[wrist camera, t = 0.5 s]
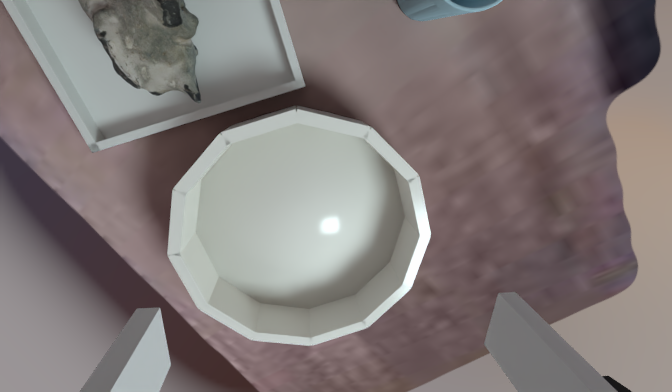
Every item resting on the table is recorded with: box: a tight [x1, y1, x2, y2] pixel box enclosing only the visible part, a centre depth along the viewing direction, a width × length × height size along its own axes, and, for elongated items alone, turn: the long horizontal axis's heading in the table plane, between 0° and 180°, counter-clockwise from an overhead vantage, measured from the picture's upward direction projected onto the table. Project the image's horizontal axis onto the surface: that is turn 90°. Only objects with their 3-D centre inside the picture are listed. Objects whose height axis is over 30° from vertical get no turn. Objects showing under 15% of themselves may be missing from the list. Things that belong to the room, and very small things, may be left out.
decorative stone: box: [78, 0, 201, 103], centre depth 25 cm, size 16×9×10 cm, turn 34°
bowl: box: [167, 105, 431, 346], centre depth 35 cm, size 26×26×6 cm
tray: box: [1, 0, 305, 153], centre depth 28 cm, size 19×22×2 cm
